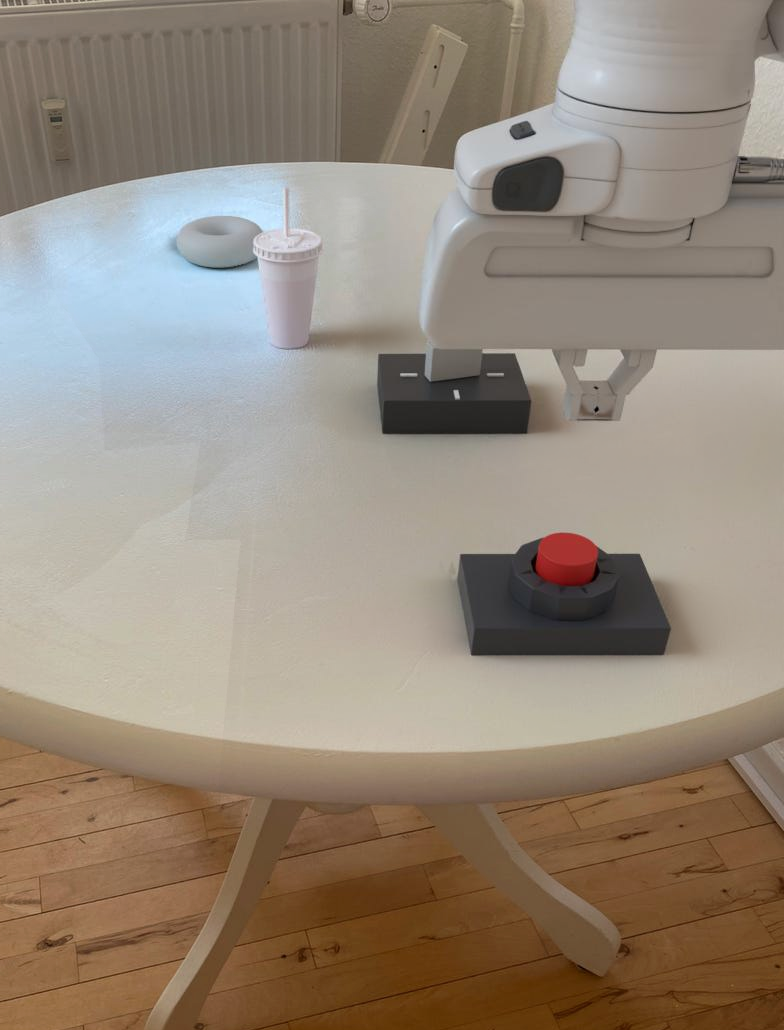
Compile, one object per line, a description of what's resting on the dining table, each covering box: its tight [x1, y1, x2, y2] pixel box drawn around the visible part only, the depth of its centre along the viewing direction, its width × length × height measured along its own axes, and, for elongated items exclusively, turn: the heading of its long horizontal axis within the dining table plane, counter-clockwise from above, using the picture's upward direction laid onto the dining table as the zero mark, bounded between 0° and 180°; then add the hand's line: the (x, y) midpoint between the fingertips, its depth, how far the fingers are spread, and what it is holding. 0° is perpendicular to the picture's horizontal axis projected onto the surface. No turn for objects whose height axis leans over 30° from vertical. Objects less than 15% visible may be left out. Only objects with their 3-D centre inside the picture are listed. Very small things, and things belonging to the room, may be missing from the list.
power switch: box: [456, 537, 672, 656], centre depth 68 cm, size 12×8×4 cm, turn 90°
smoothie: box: [253, 186, 324, 350], centre depth 98 cm, size 6×6×14 cm
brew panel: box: [376, 352, 532, 434], centre depth 90 cm, size 12×9×3 cm
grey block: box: [425, 341, 484, 382], centre depth 88 cm, size 4×1×3 cm, turn 106°
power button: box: [536, 532, 598, 586], centre depth 66 cm, size 4×4×2 cm
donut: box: [176, 215, 264, 269], centre depth 119 cm, size 10×4×10 cm
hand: (590, 416), depth 60 cm, fingers closed
